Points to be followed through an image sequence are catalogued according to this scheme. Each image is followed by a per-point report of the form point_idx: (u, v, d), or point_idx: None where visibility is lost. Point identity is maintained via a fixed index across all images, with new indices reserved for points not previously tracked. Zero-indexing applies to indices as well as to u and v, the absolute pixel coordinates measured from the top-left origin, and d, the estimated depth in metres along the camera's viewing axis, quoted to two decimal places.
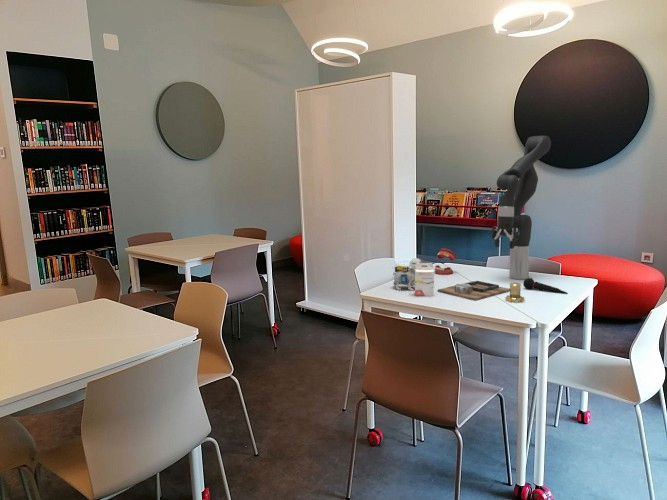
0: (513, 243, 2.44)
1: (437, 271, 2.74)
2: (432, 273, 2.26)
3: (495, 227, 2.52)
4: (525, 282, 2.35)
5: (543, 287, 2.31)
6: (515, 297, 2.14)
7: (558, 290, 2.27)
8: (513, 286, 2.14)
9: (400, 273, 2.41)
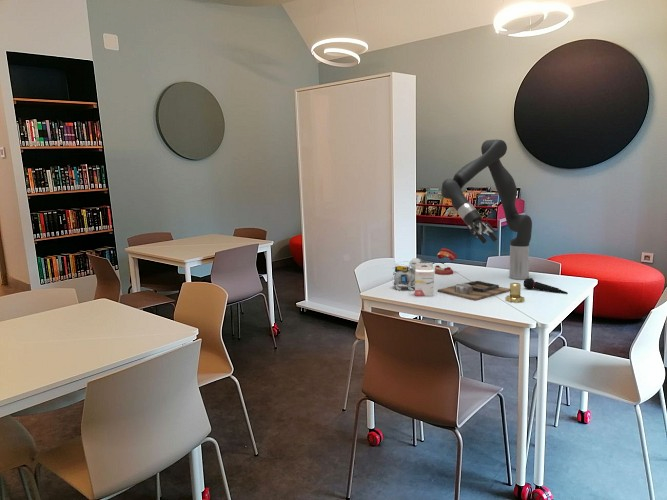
0: (480, 238, 2.20)
1: (437, 271, 2.74)
2: (432, 273, 2.26)
3: (483, 224, 2.30)
4: (525, 282, 2.35)
5: (543, 287, 2.31)
6: (515, 297, 2.14)
7: (558, 290, 2.27)
8: (513, 286, 2.14)
9: (400, 273, 2.41)
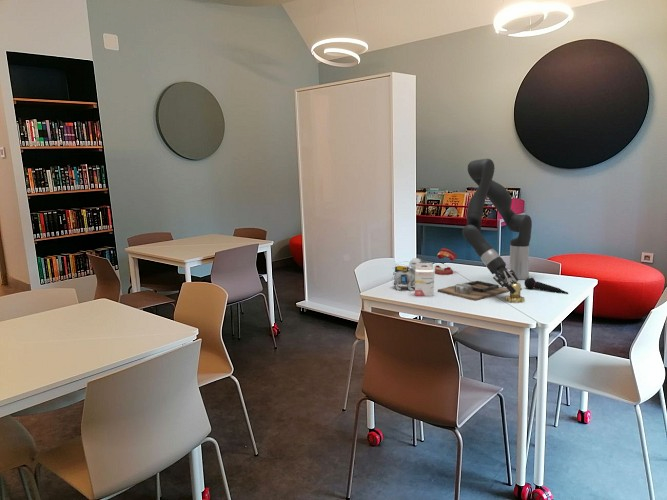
0: (509, 288, 2.14)
1: (437, 271, 2.74)
2: (432, 273, 2.26)
3: None
4: (526, 282, 2.36)
5: (543, 286, 2.31)
6: (515, 297, 2.14)
7: (559, 290, 2.27)
8: (513, 286, 2.14)
9: (400, 273, 2.41)
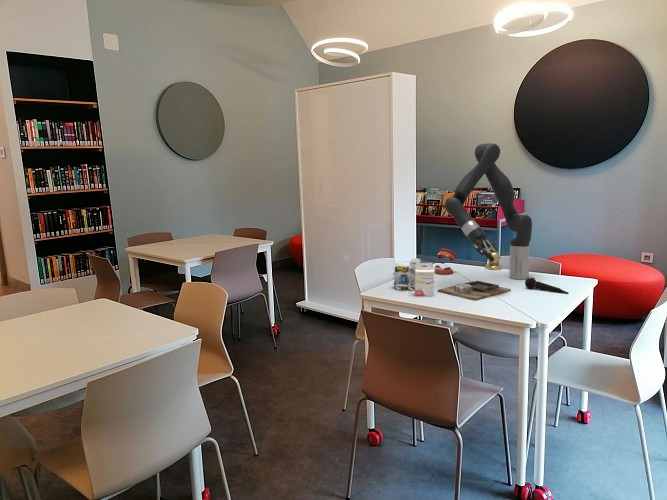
0: (488, 256, 2.25)
1: (437, 271, 2.74)
2: (432, 273, 2.26)
3: None
4: (526, 282, 2.36)
5: (544, 286, 2.31)
6: (494, 265, 2.25)
7: (559, 290, 2.27)
8: (492, 254, 2.25)
9: (400, 273, 2.41)
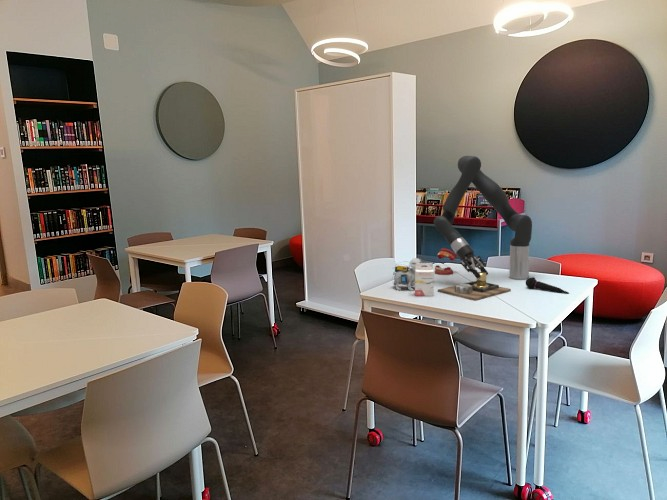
0: (474, 273, 2.33)
1: (437, 271, 2.74)
2: (432, 273, 2.26)
3: None
4: (527, 281, 2.36)
5: (544, 286, 2.32)
6: (481, 285, 2.34)
7: (559, 290, 2.27)
8: None
9: (400, 273, 2.41)
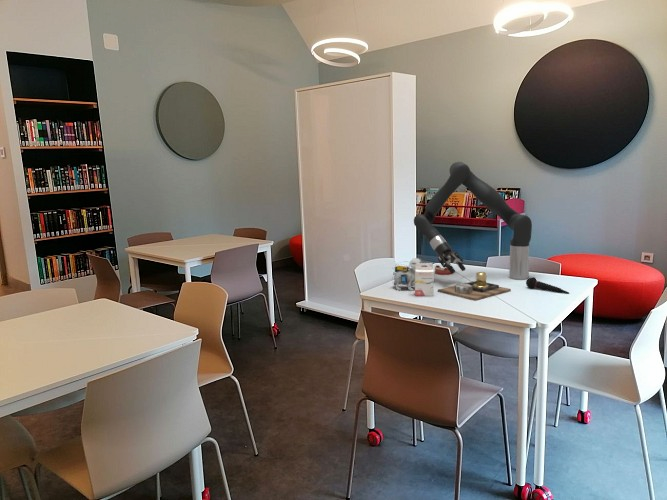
0: (449, 268, 2.42)
1: (437, 271, 2.74)
2: (432, 273, 2.26)
3: (453, 254, 2.52)
4: (527, 281, 2.37)
5: (544, 286, 2.32)
6: (481, 285, 2.34)
7: (560, 290, 2.27)
8: (479, 275, 2.33)
9: (400, 273, 2.41)
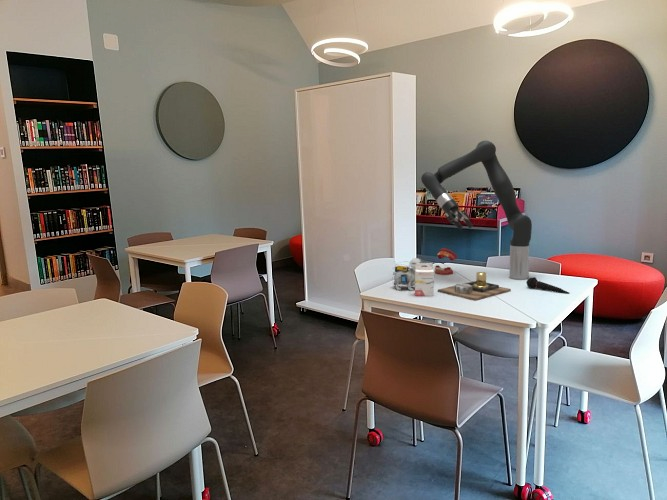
0: (456, 224, 2.42)
1: (437, 271, 2.74)
2: (432, 273, 2.26)
3: (460, 212, 2.52)
4: (528, 281, 2.37)
5: (545, 286, 2.32)
6: (481, 285, 2.34)
7: (560, 290, 2.27)
8: (479, 275, 2.33)
9: (400, 273, 2.41)
